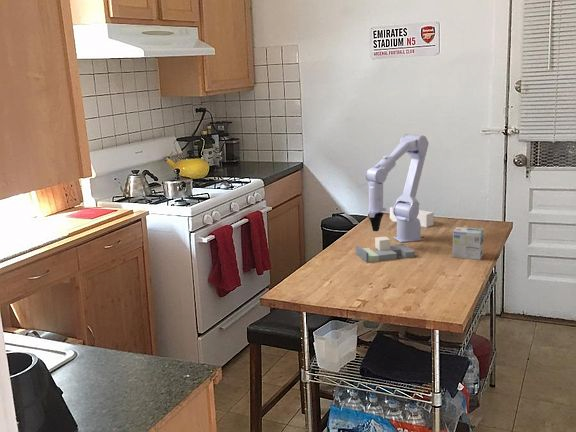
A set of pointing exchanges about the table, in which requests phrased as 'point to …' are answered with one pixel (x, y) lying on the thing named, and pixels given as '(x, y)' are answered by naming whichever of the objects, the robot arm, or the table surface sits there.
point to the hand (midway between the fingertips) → (375, 230)
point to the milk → (423, 216)
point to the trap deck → (385, 253)
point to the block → (382, 243)
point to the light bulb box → (468, 243)
